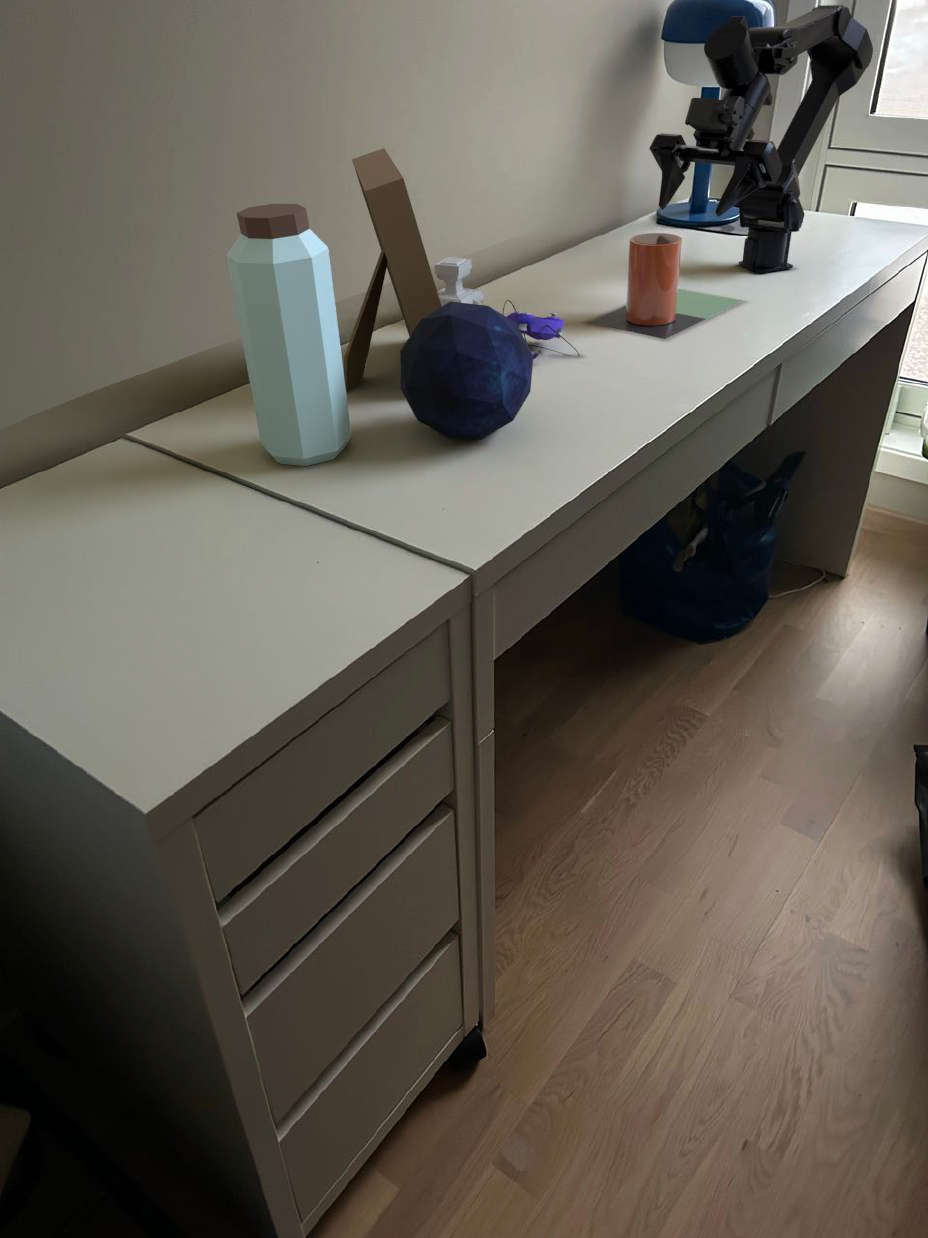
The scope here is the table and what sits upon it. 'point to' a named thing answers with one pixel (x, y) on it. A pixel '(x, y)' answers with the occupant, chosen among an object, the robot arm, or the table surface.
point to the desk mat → (687, 314)
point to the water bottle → (290, 334)
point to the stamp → (456, 282)
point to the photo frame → (390, 258)
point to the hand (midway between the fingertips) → (688, 210)
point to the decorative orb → (465, 370)
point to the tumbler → (653, 278)
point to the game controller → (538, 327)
